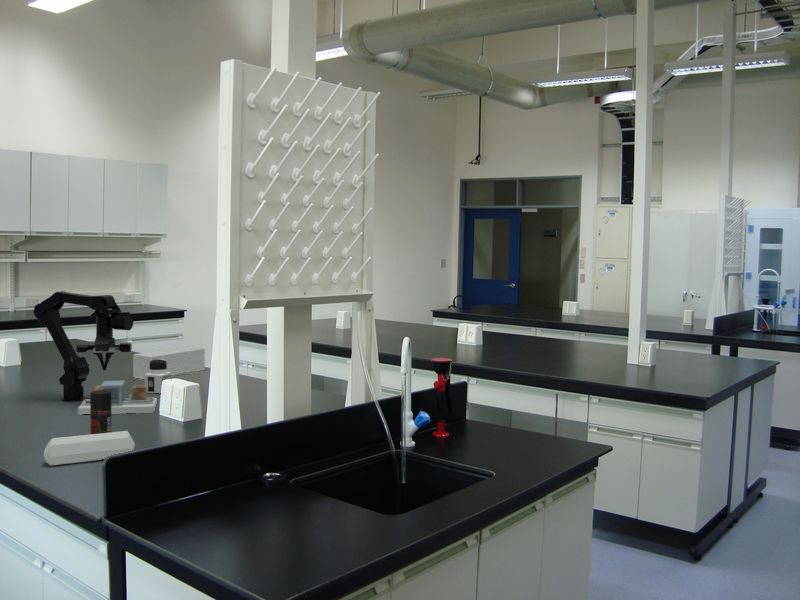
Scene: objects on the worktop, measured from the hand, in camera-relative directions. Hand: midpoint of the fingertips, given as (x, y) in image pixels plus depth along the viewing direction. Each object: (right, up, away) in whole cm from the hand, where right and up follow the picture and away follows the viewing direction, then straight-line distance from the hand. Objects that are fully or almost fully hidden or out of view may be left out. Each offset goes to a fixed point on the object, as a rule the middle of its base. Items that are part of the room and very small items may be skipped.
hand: (104, 370), depth 271 cm
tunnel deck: (+10, -13, -10) cm, 19 cm away
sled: (+11, -10, -10) cm, 18 cm away
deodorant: (+19, -17, -48) cm, 55 cm away
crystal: (+23, -19, -67) cm, 73 cm away
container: (+13, -11, +21) cm, 27 cm away
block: (+16, -10, -8) cm, 20 cm away
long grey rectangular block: (+6, -8, +58) cm, 59 cm away
